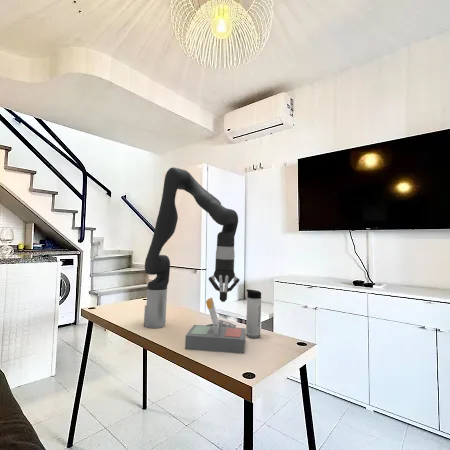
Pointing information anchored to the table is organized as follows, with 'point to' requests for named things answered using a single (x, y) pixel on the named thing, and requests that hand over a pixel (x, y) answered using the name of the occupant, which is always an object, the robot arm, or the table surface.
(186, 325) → the table surface
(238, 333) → the breaker base
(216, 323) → the breaker lever
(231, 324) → the graphics card
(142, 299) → the table surface
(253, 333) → the travel mug
